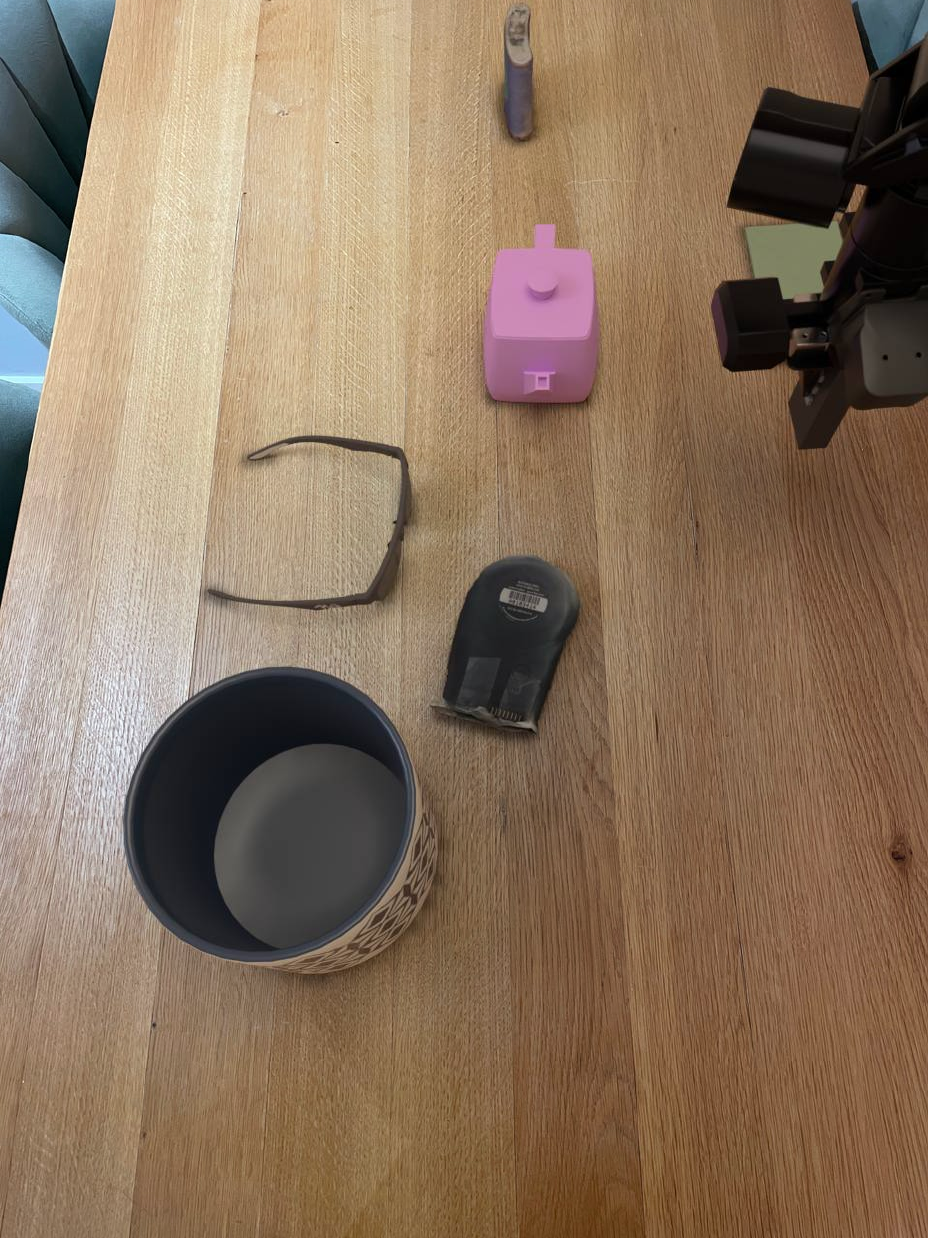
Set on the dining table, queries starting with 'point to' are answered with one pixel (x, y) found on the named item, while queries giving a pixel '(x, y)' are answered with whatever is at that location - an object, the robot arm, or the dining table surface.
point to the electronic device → (509, 643)
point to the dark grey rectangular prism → (820, 405)
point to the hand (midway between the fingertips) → (822, 390)
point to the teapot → (541, 323)
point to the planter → (281, 823)
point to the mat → (793, 254)
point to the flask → (518, 72)
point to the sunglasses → (393, 555)
